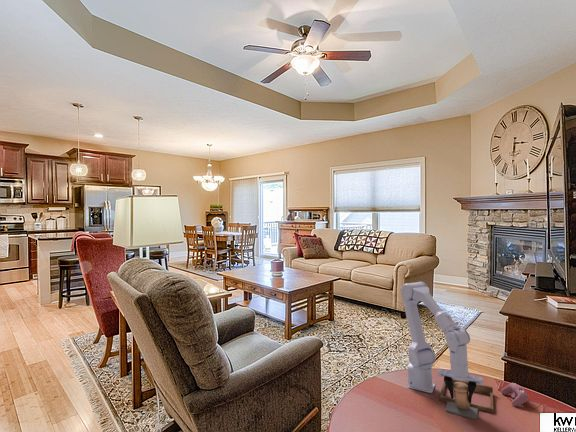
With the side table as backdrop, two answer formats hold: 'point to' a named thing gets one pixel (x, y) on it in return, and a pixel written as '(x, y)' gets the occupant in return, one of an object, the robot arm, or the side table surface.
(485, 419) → the side table surface
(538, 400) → the side table surface
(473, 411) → the rubber mat
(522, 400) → the video game controller
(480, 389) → the frame
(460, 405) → the beige peg
